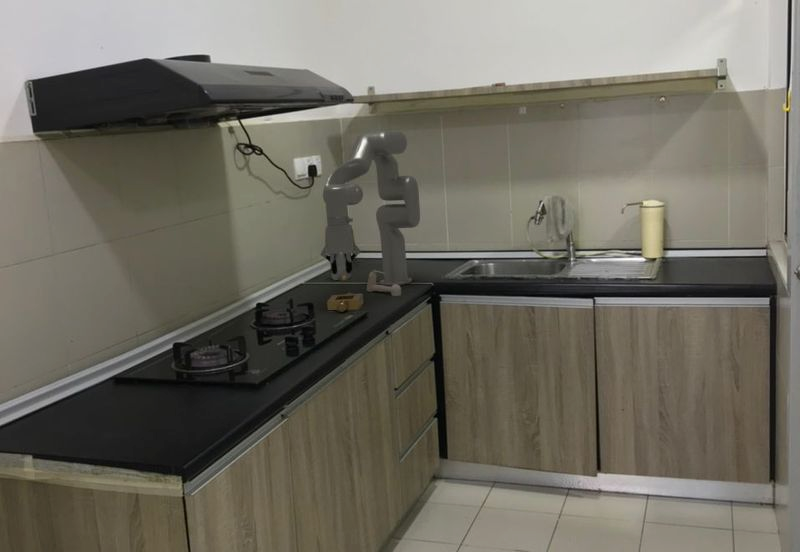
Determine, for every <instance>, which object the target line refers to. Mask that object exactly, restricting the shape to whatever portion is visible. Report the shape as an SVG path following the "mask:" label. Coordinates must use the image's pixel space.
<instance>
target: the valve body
mask: <svg viewBox="0 0 800 552" xmlns="http://www.w3.org/2000/svg"><path fill="white" fill-rule="evenodd" d="M363 295H364V293H352V292H348V293H345V294H334V295H331V296H330V298H329V299H328V300H327V301H326V304H327V311H328V310H337V311H336V312H338V311H345V310H346V311H359V310H361V307H362V306H363V304H364V296H363ZM346 311H345V312H346Z"/></svg>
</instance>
